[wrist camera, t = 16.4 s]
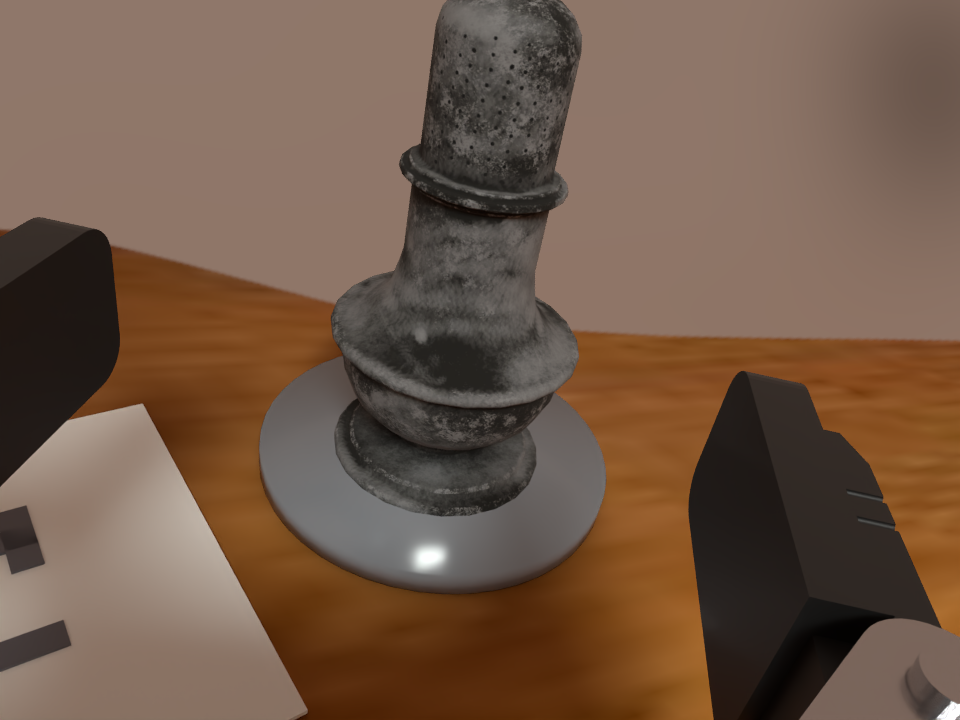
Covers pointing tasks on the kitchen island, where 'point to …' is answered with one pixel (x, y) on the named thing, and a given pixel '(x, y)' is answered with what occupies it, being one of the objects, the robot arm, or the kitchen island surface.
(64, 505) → the card
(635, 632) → the kitchen island surface
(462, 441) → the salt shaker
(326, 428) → the coaster
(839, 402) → the kitchen island surface
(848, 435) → the kitchen island surface
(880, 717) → the robot arm
